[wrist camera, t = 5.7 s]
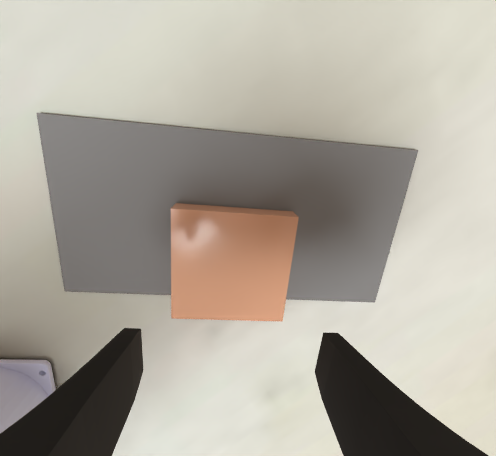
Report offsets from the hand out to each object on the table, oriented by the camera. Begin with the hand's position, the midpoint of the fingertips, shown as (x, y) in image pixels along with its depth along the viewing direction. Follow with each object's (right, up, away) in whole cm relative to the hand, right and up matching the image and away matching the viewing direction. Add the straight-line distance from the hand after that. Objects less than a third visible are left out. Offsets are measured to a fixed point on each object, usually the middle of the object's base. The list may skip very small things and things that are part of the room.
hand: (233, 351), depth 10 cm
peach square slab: (-1, -2, +9) cm, 9 cm away
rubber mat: (0, +5, +8) cm, 10 cm away
